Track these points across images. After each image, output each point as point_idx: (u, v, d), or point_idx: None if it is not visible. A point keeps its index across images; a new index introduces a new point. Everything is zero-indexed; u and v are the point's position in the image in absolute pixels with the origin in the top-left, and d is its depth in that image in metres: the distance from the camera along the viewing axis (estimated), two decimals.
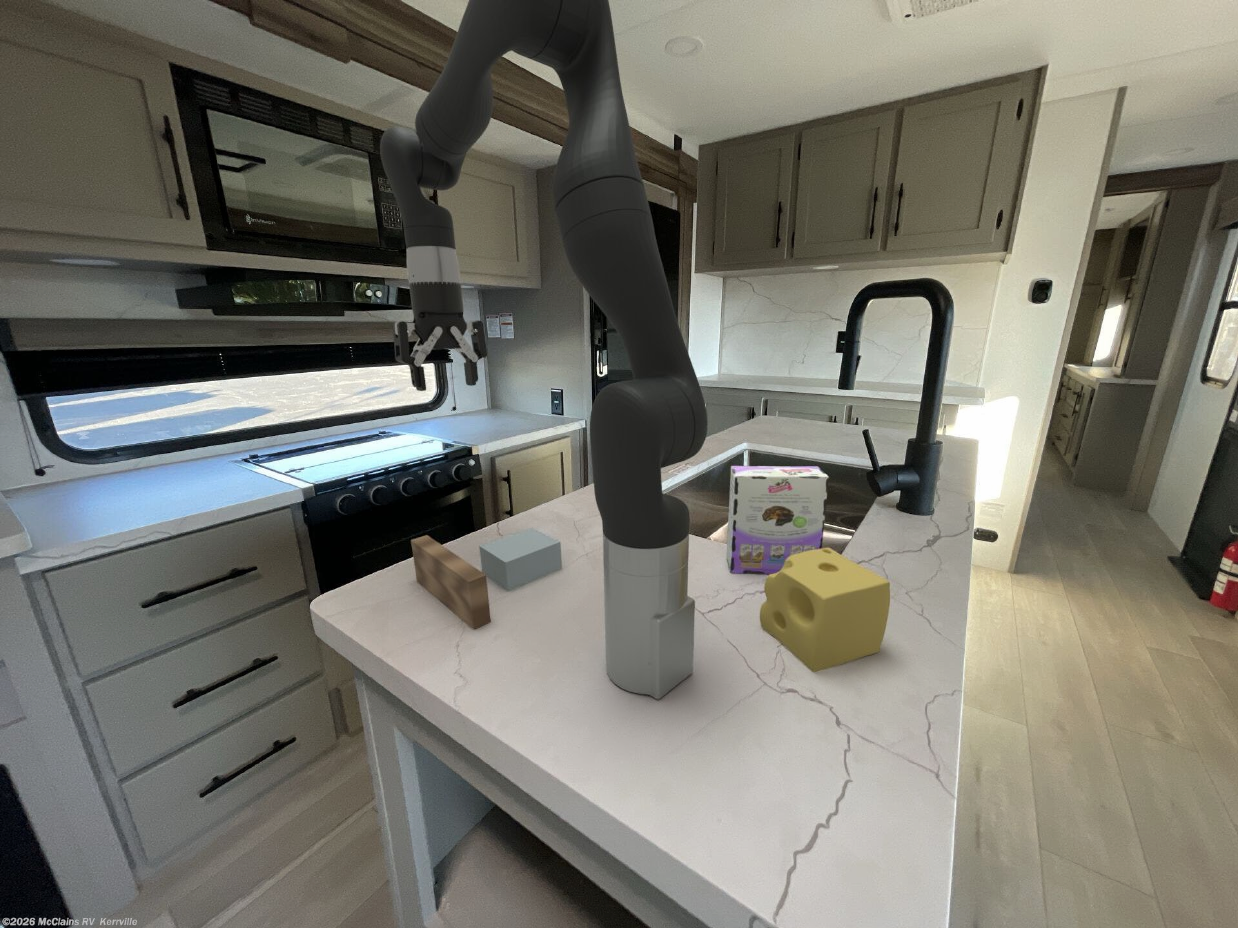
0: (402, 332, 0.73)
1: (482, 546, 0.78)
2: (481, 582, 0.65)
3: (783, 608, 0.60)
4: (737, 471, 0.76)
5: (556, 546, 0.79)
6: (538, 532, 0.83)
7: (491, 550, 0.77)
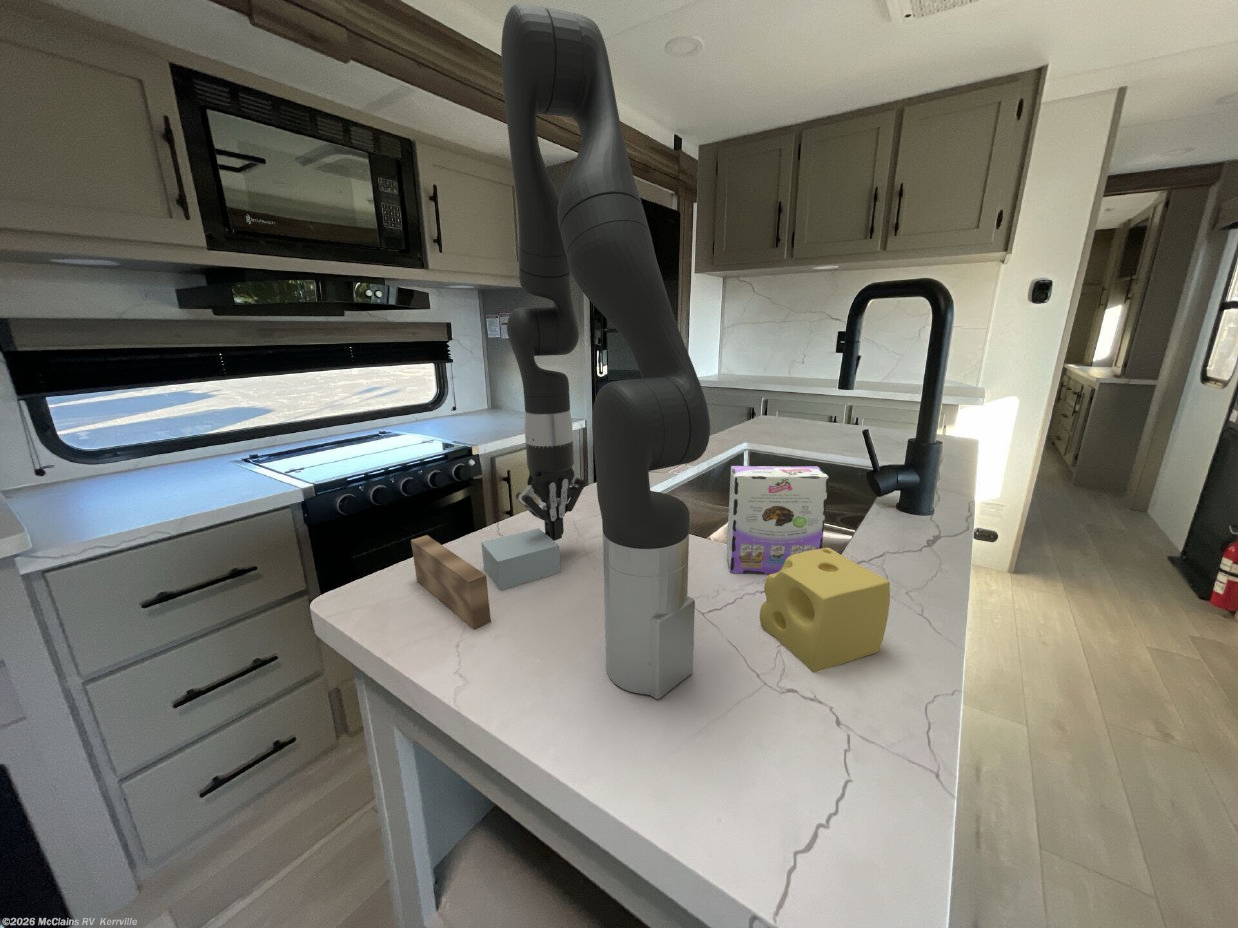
0: (530, 504, 0.77)
1: (483, 543, 0.79)
2: (481, 582, 0.65)
3: (783, 608, 0.60)
4: (737, 471, 0.76)
5: (555, 549, 0.78)
6: (542, 533, 0.83)
7: (489, 548, 0.78)
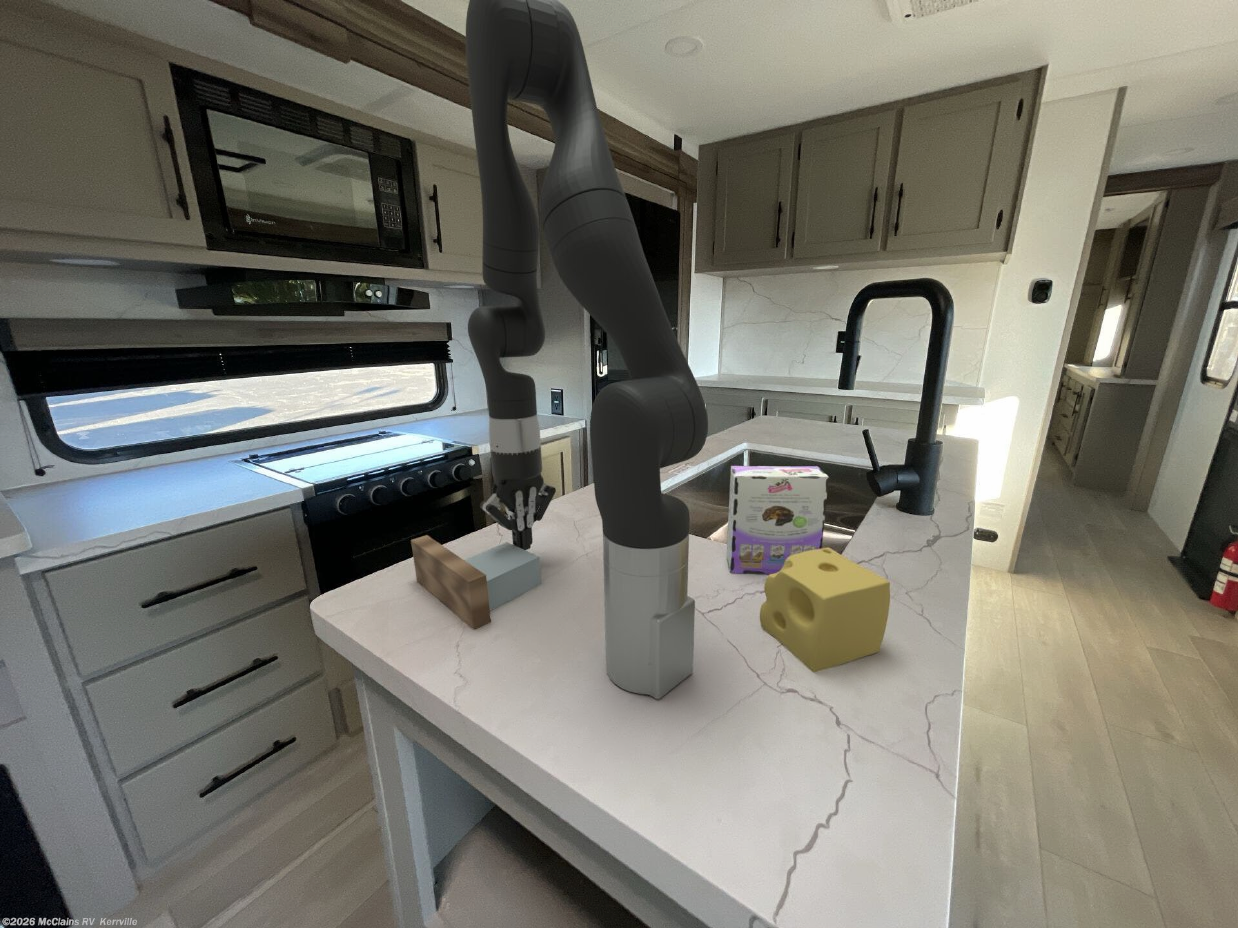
0: (495, 513, 0.73)
1: None
2: (481, 582, 0.65)
3: (783, 608, 0.60)
4: (737, 471, 0.76)
5: (535, 561, 0.74)
6: (514, 547, 0.78)
7: None
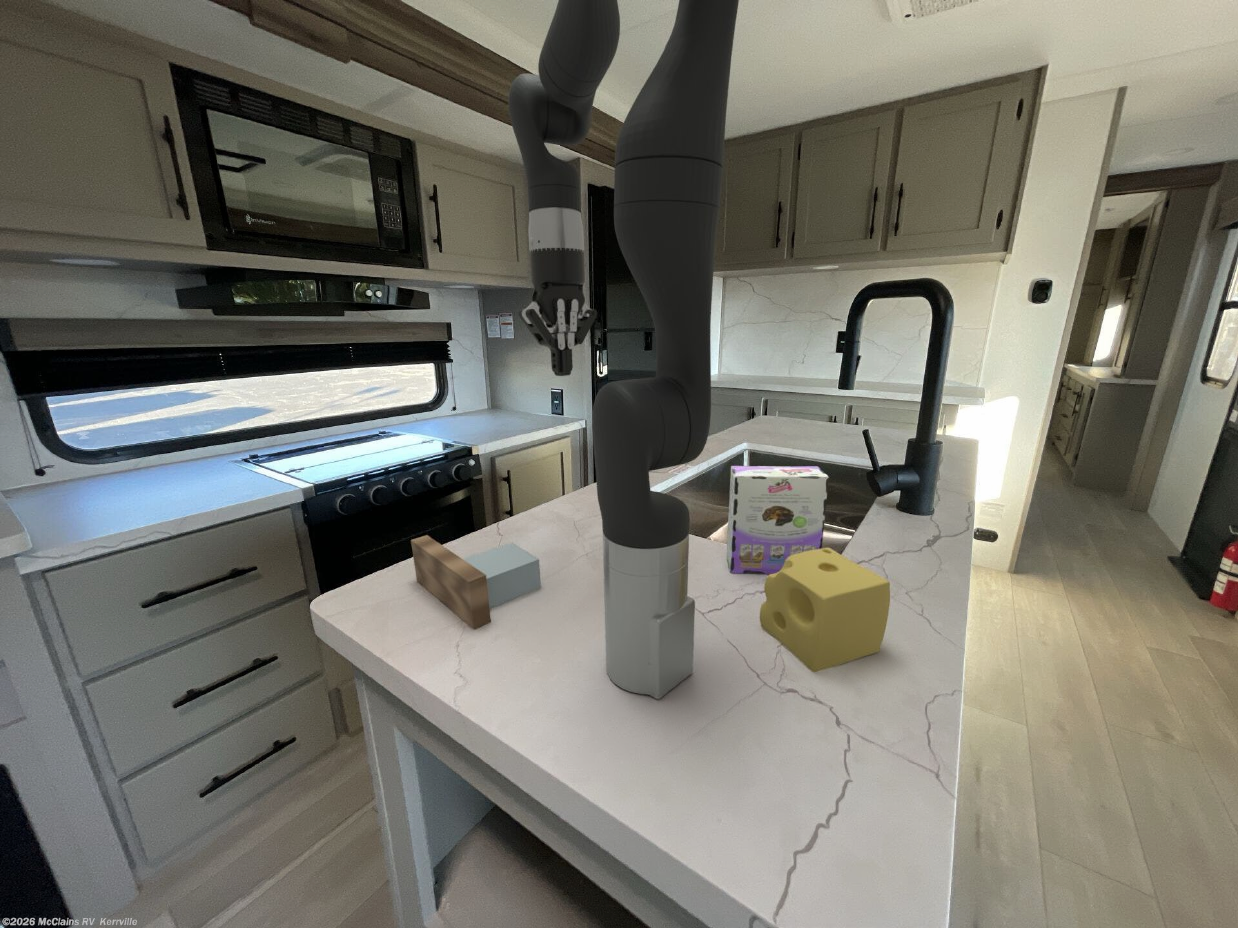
0: (535, 320, 0.67)
1: None
2: (481, 582, 0.65)
3: (783, 608, 0.60)
4: (737, 471, 0.76)
5: (535, 564, 0.74)
6: (517, 548, 0.78)
7: None
